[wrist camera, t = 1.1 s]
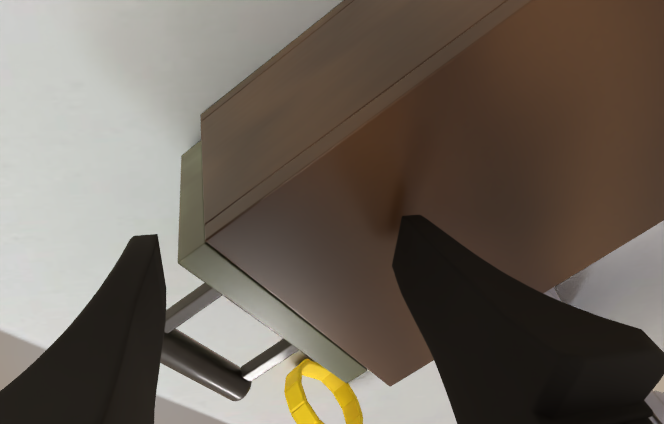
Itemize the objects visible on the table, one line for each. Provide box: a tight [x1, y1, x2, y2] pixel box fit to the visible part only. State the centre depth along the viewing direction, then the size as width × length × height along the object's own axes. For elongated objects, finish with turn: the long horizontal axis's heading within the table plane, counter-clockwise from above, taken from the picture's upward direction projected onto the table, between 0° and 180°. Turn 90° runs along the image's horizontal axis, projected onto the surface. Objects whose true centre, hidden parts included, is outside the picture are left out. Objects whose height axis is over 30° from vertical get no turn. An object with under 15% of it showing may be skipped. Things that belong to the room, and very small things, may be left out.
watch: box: [285, 358, 363, 424], centre depth 31 cm, size 6×3×6 cm, turn 45°
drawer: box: [160, 141, 367, 401], centre depth 20 cm, size 19×10×7 cm, turn 124°
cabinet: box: [201, 0, 664, 386], centre depth 20 cm, size 16×12×9 cm
